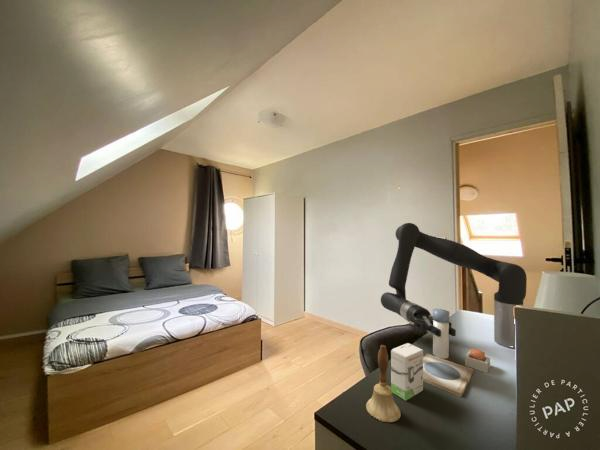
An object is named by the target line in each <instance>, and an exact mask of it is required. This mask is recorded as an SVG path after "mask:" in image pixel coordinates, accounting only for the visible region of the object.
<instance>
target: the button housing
mask: <svg viewBox="0 0 600 450" xmlns="http://www.w3.org/2000/svg"><path fill="white" fill-rule="evenodd" d="M464 359H465V361H464V363H465V364H464V366H465V367H468V368H471V369H473V370H477V371H479V372H483V373H485V374H488V372H489V371H490V367H491V356H487V355H485V360H477V359H474V358H472V357H471V355H470V350H468V352H467V354H465V357H464Z"/></svg>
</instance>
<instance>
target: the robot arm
mask: <svg viewBox="0 0 600 450" xmlns="http://www.w3.org/2000/svg"><path fill="white" fill-rule="evenodd" d="M395 238H396V240H397V241H398V246H397V252H396V255H395V258H394V261H393V264H392V267H391V270H390V275H389V278H388V279H389V280H388V285H389V287H390V288H393V289H395V293H392V292H390V291H389V292H384V293H383V294H381V297H380V305H382V307H383V308H384V309H386V310H387V311H390V312H392V313H395V314H397V315H399V316H400V317H402V318H403V319H404V320H405V321H407V322H408V323H409V324H408V325H409V327H411V328H413V329H416V330H418V331H420V332H423V333H425V332H428V333H431V334H432V335H433V334H434V335H436V336H438V337H441V330H440V329H438V328H437V327H435V326H433V314H432V313H431V312H430V311H429V310H428V309H427V308H425V307H424V306H421V305H419V304H417V303H415V302H412V301H409V300H408V299H407V295H406V294H407V293H406V285H407V279H408V275H409V271H410V270H409V269H410V264H411V260H412V255H413V253H414V250H415V248H417V249H420V250H423V251H425V252H427V253H429V254H431V255H433V256H435V257H437V258H440V259H442V260H444V261H446V262H449V263H450V264H454V265H456V266H459V267H462V268H465V269H470V270H473V271H476V272H477V273H480V274H482V275H484V276H486V277H489V278H490V279H492V280H494V281H496V282H498V290H497V291H496V292H494V293H493V301H494V302H493V312H494V313H493V318H494V319H493V324H494V325H493V326H494V327H493V331H494V333H493V335H494V336H493V340H494V341H493V342H496V343H497V344H499V345H501V346H503V347H505V348H506V347H507V348H510V347H509V346H513V348H512V349H516V348H515V324H514V316H513V307H514V306H516V305H521V306H523V307H524V301H525V298H526V295H527V273H526V271H525V268H523V267H522V266H521V265H518V264H515V263H512V262H511V263H510V262H508V261H507V262H506V261H502V260H497V259H494V258H491V257H488V256H485V255H482V254H481V253H479V252H477V251H476V250H474V249H473V248H470V247H468V246H466V245H464V244H462V243H459V242H457V241H454V240H451V239H447V238H442V237H440V236H439V237H437V236H433V235H429V234H428V233H427V234H426V233H424V232H422V231H420V229H419V227H418V226H417V225H416V223H413V222H405V223H403V224H401V225H400V226H399V227H397V229H396V230H395ZM456 332H457V331H456V329H455V328H453V327H452V322H451V321H449V336H451V337H456V336H457V335H456Z"/></svg>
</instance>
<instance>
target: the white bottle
mask: <svg viewBox="0 0 600 450" xmlns="http://www.w3.org/2000/svg"><path fill="white" fill-rule="evenodd" d="M432 316H433V326H435V327H437V328H438V329H440V330H441V337H438V336H436V335H434V334H433V333H432V354H433V356H436V357H439V358H441V359H449V354H450V353H449V351H450V349H449V347H450V346H449V345H450V343H449V342H450V341H449V340H450V335H449V322H450V311H448V310H447V309H442V308H432Z"/></svg>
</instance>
